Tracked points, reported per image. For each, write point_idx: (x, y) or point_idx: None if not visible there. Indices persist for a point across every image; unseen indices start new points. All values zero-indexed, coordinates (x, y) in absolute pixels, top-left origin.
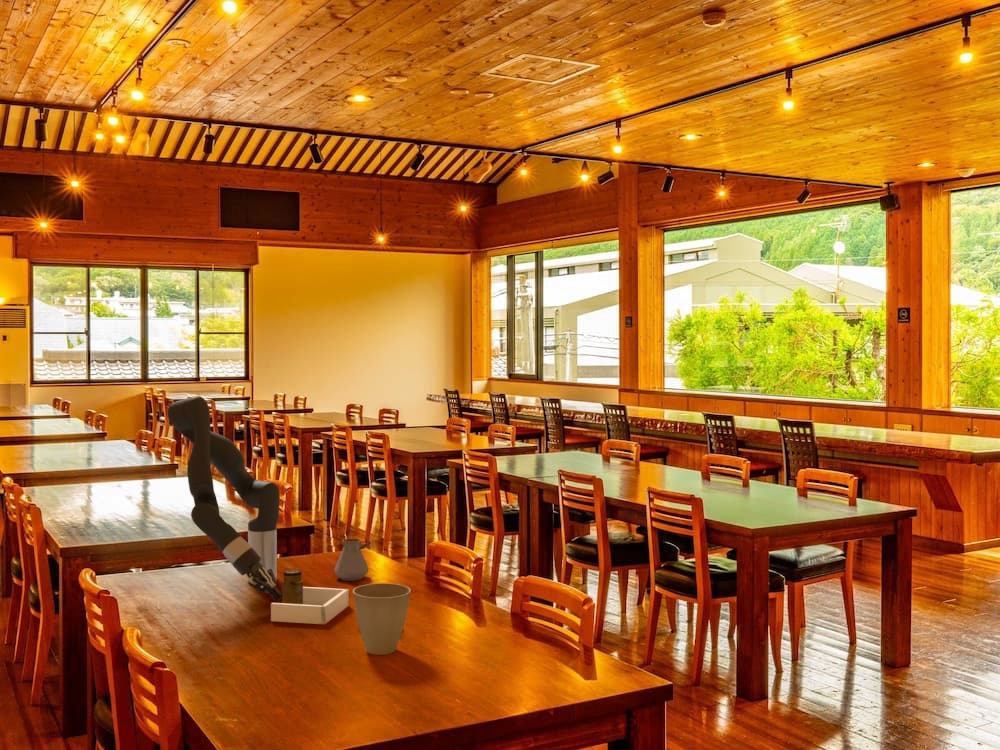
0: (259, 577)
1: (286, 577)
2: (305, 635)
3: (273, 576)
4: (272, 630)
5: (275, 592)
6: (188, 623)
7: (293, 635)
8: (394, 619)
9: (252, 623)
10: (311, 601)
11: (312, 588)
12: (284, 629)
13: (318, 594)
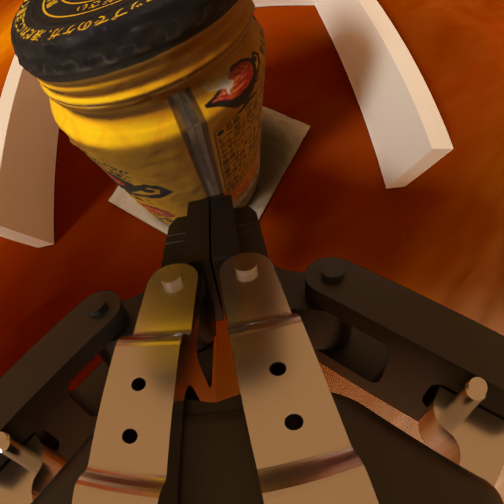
0: (394, 426)
1: (244, 5)
2: (444, 24)
3: (32, 367)
4: (480, 125)
5: (243, 234)
6: (501, 479)
7: (466, 51)
8: None
9: (464, 254)
10: (47, 158)
11: (8, 122)
12: (449, 89)
13: (32, 108)
